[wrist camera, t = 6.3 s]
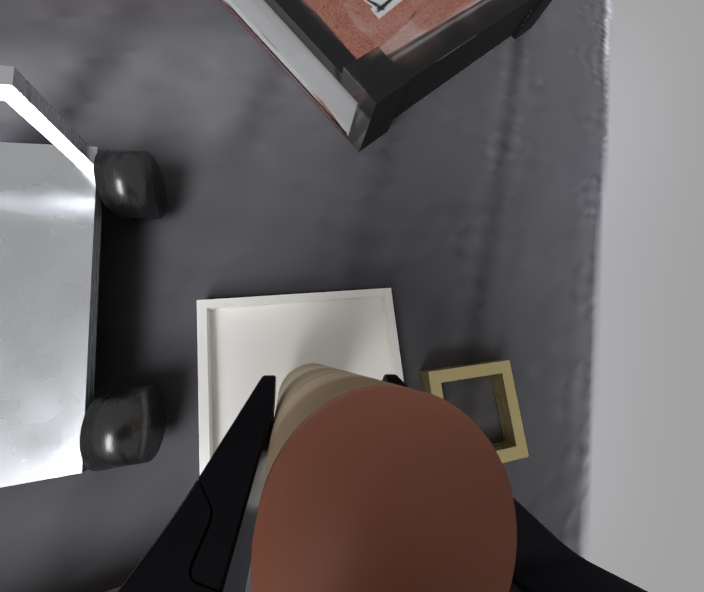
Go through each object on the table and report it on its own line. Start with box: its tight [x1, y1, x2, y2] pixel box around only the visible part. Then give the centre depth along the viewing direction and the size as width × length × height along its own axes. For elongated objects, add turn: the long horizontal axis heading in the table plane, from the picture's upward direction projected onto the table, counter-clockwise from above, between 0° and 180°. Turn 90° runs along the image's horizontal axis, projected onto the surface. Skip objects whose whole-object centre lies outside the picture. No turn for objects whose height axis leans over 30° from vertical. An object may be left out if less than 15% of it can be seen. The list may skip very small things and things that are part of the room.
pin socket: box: [420, 360, 529, 463], centre depth 20 cm, size 6×6×1 cm
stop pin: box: [251, 363, 517, 592], centre depth 10 cm, size 4×4×13 cm
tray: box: [197, 288, 404, 475], centre depth 18 cm, size 12×12×1 cm
